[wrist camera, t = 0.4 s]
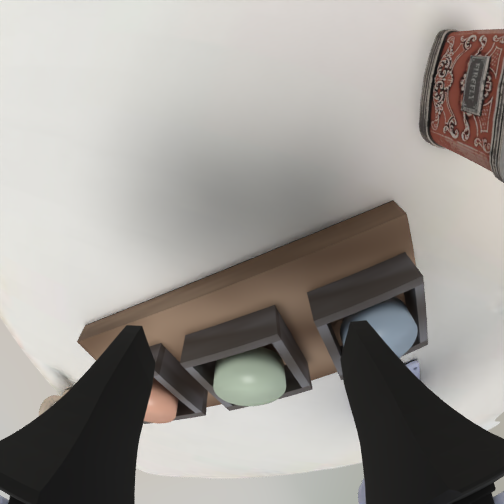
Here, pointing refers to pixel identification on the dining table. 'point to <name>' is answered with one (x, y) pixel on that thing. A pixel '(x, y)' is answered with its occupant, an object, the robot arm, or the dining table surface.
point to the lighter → (466, 96)
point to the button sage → (250, 377)
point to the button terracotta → (161, 405)
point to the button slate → (387, 324)
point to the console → (275, 308)
